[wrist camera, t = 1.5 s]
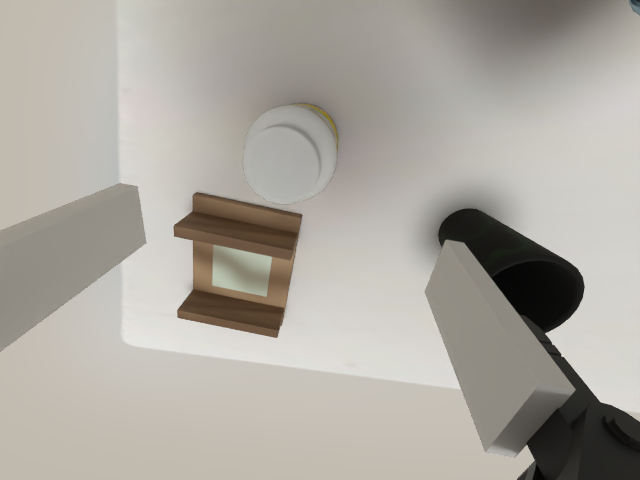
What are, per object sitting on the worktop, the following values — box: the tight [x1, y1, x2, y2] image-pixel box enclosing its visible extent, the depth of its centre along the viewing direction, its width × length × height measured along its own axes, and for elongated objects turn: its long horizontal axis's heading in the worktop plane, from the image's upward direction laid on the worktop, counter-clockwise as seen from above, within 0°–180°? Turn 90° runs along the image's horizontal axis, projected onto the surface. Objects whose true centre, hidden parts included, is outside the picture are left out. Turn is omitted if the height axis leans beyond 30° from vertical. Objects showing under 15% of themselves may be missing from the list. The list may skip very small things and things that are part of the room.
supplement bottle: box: [243, 103, 338, 205], centre depth 23 cm, size 7×7×13 cm
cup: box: [438, 209, 584, 333], centre depth 26 cm, size 8×8×12 cm
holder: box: [174, 193, 302, 338], centre depth 33 cm, size 16×12×5 cm
